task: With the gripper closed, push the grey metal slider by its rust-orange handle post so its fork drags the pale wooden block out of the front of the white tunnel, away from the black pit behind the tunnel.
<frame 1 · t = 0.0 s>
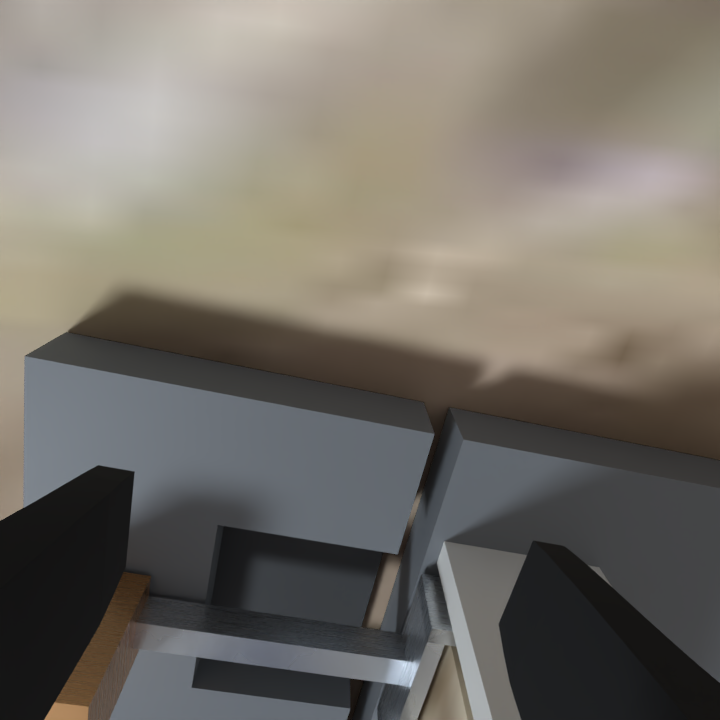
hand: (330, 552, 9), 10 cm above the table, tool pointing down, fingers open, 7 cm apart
block: (482, 652, 20), point 2 cm above the table, touching grey slotted board
grey slotted board: (468, 603, 23), on the table
slider: (311, 692, 17), point 5 cm above the table, slide at 0.0 cm
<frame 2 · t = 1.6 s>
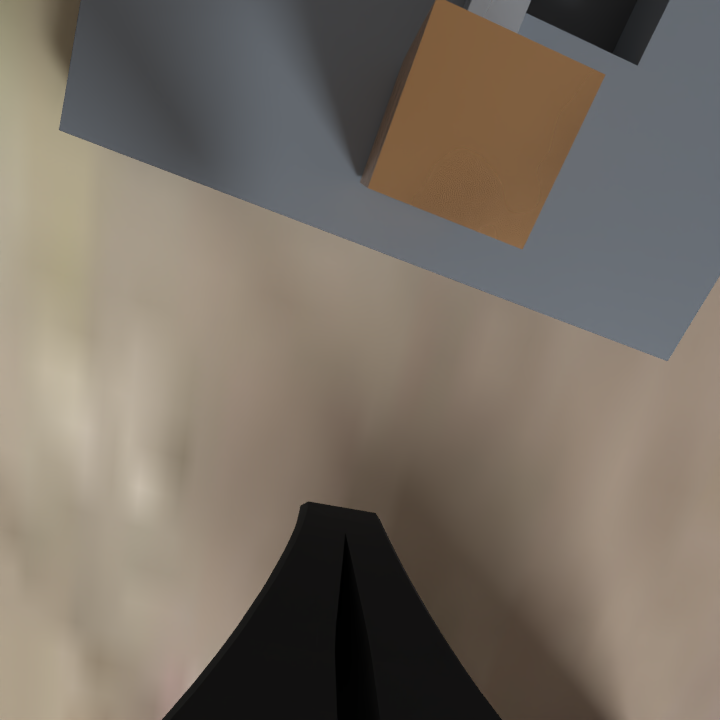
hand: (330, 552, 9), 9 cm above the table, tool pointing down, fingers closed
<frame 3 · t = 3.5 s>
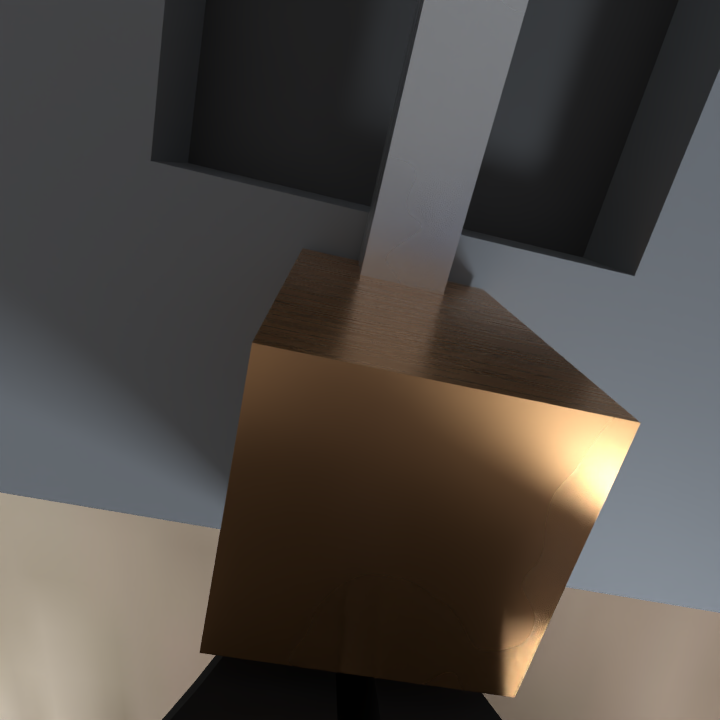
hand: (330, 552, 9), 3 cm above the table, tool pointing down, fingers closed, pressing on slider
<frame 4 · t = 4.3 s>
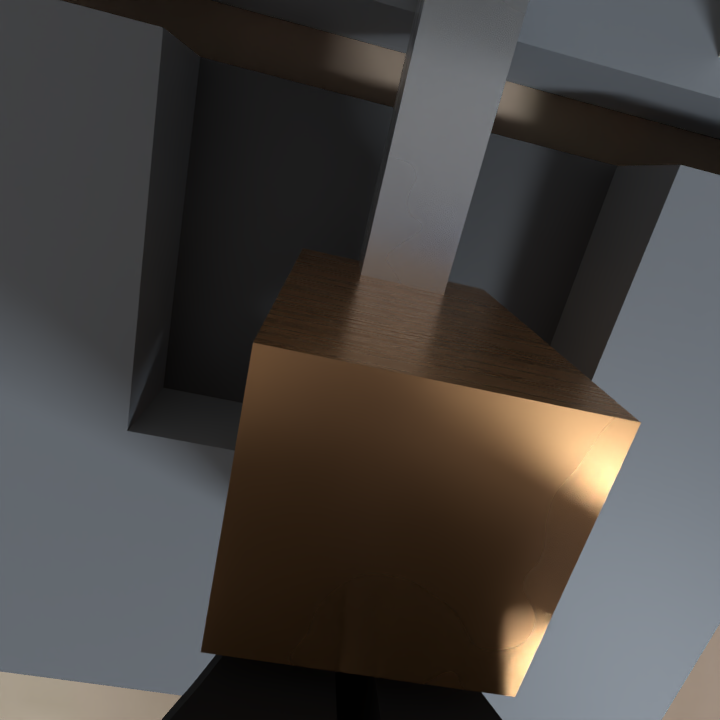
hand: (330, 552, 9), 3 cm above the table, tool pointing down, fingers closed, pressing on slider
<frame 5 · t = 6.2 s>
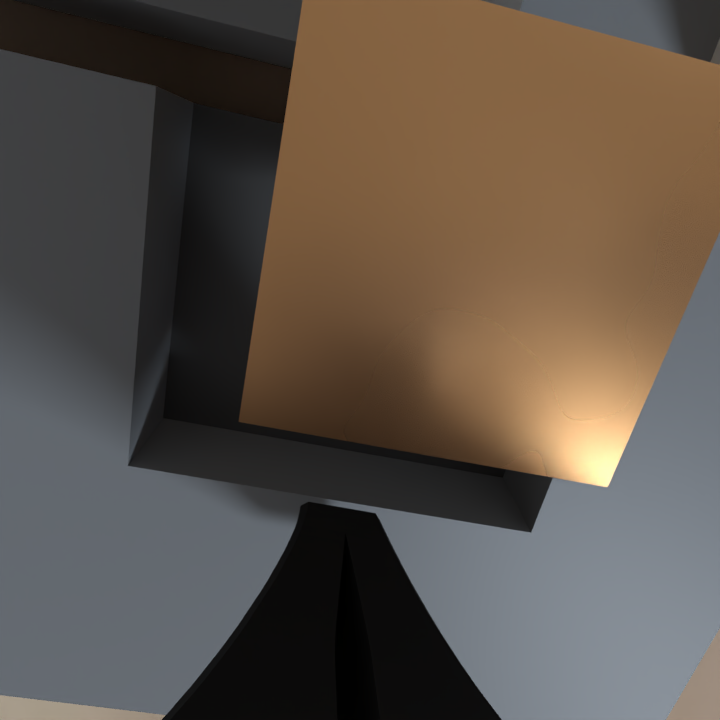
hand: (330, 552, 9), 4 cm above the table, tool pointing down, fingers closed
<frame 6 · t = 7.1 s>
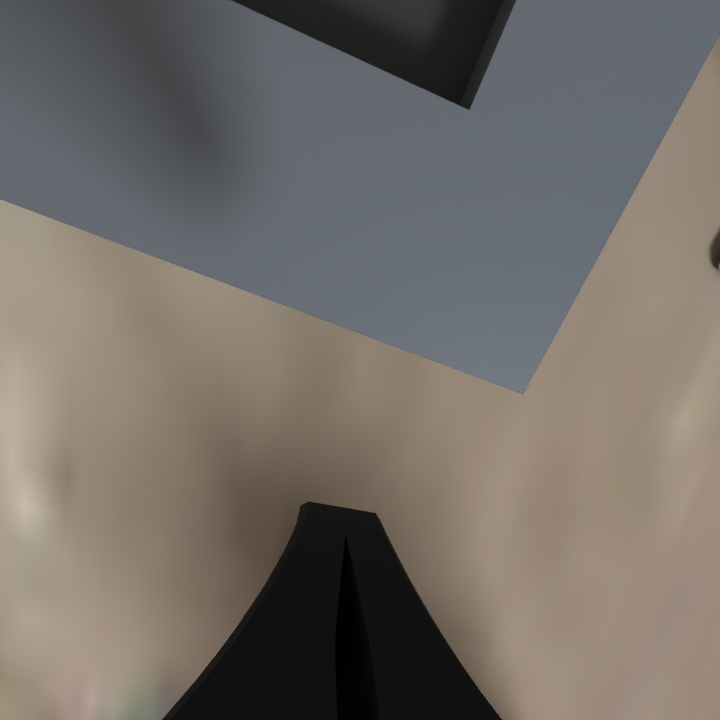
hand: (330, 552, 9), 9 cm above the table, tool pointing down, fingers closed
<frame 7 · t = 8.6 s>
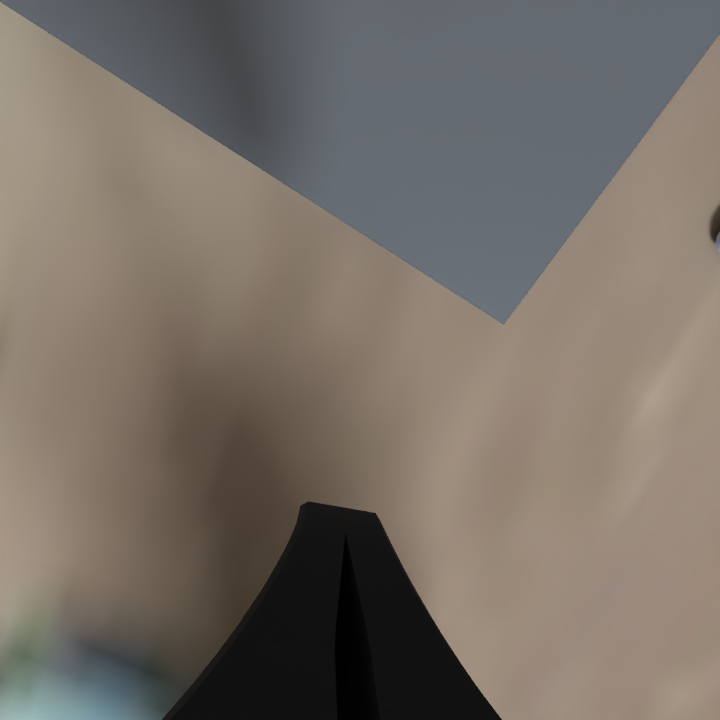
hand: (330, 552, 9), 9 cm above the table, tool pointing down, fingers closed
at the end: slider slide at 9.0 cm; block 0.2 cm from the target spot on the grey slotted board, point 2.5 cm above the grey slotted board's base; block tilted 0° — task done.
